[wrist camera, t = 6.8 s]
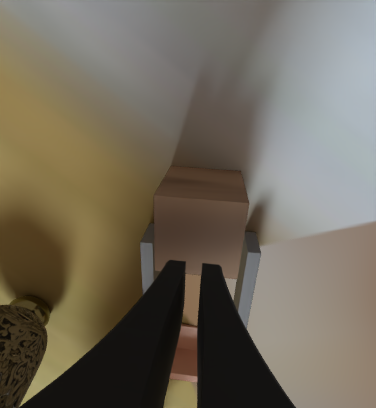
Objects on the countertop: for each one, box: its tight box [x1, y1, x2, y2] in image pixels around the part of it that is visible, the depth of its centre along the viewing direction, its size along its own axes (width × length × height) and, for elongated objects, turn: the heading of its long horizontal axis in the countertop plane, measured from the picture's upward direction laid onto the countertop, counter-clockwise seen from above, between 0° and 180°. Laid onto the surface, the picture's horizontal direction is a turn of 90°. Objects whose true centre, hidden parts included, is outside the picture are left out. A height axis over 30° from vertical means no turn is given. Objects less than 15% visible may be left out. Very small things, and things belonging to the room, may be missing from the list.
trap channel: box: [140, 223, 261, 382], centre depth 20 cm, size 14×8×2 cm, turn 178°
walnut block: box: [154, 166, 249, 279], centre depth 15 cm, size 4×4×5 cm
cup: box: [0, 295, 50, 408], centre depth 20 cm, size 8×7×8 cm
